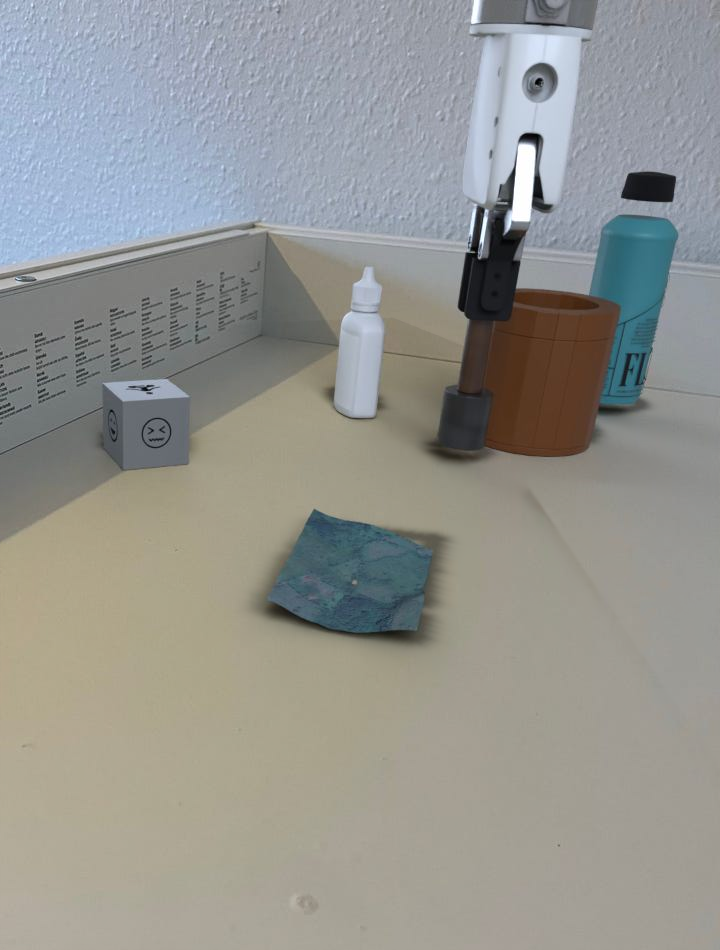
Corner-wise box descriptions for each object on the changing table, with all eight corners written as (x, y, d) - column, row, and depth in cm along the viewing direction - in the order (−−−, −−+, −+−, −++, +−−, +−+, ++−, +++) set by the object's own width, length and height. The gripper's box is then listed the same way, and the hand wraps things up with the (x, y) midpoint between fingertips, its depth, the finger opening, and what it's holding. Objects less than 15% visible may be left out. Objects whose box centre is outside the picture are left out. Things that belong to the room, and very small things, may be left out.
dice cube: (165, 443, 77) (166, 378, 74) (188, 464, 73) (190, 396, 70) (103, 448, 75) (102, 382, 73) (123, 470, 71) (122, 401, 69)
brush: (479, 437, 77) (515, 230, 69) (488, 452, 74) (527, 236, 66) (433, 434, 77) (464, 227, 69) (440, 449, 74) (474, 233, 66)
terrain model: (310, 533, 62) (314, 505, 61) (434, 557, 60) (439, 529, 60) (262, 627, 51) (265, 595, 50) (411, 658, 50) (418, 626, 49)
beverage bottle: (613, 426, 87) (672, 176, 77) (548, 407, 91) (596, 168, 81) (650, 414, 91) (711, 175, 81) (586, 397, 95) (637, 168, 85)
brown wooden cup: (569, 421, 88) (597, 292, 82) (606, 459, 78) (640, 317, 73) (453, 415, 87) (473, 285, 82) (475, 453, 78) (500, 309, 73)
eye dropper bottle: (322, 415, 85) (335, 269, 80) (337, 399, 90) (350, 260, 84) (372, 422, 84) (389, 274, 78) (384, 406, 89) (401, 265, 83)
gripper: (635, 5, 55) (565, 344, 64) (559, 22, 68) (510, 298, 77) (500, -3, 55) (449, 337, 64) (451, 16, 68) (415, 293, 77)
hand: (483, 314), depth 70 cm, fingers closed on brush
